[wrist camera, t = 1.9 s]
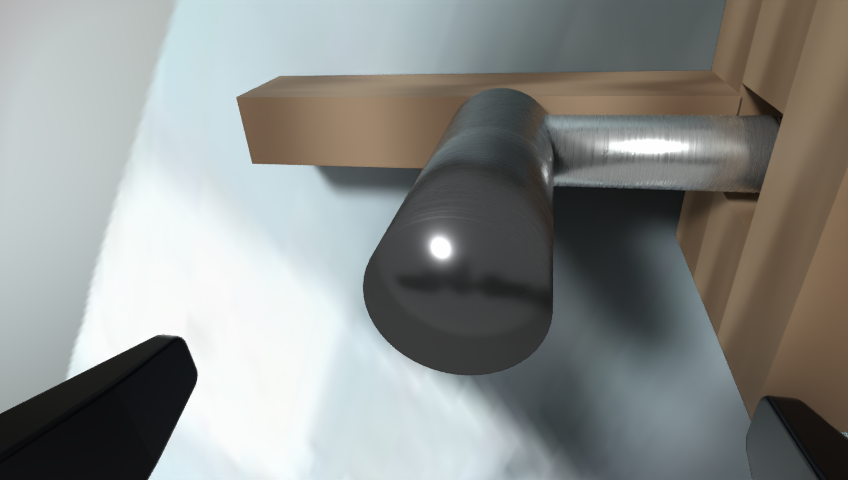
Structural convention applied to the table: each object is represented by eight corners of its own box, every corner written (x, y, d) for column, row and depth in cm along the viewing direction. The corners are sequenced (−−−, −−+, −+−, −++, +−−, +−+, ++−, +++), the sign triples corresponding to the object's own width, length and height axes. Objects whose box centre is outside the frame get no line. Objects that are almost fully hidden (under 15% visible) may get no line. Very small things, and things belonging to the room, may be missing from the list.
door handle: (977, 81, 12) (1564, 277, 5) (921, 200, 14) (1309, 476, 7) (447, 86, 15) (352, 214, 8) (451, 183, 17) (373, 365, 10)
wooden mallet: (861, -73, 14) (1221, -90, 6) (762, 240, 19) (899, 438, 11) (258, -33, 18) (43, -15, 10) (306, 216, 23) (185, 350, 15)
